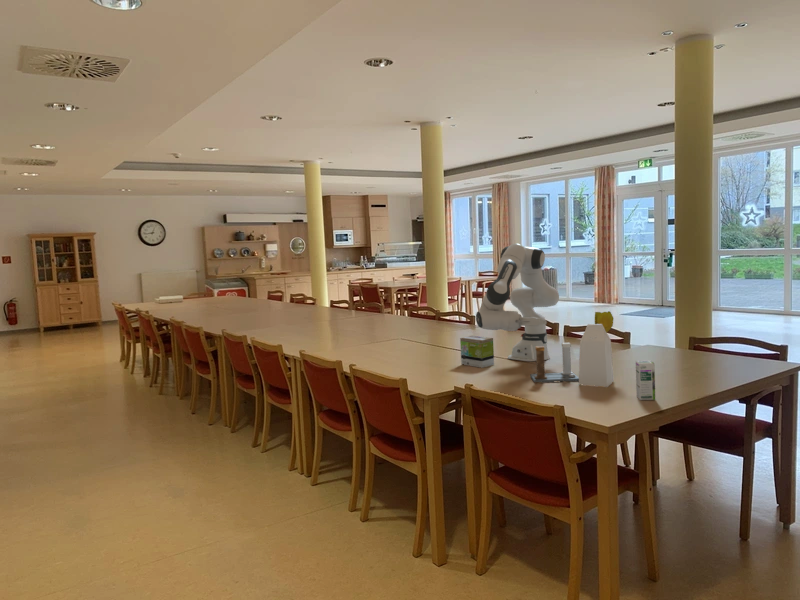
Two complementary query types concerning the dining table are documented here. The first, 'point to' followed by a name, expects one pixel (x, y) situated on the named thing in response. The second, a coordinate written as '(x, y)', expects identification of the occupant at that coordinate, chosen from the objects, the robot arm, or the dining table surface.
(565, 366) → the grey lever
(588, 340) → the milk
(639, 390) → the syrup box
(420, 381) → the dining table surface
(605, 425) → the dining table surface
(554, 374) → the control board
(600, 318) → the flower
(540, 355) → the walnut lever
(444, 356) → the dining table surface
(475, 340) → the tea box
